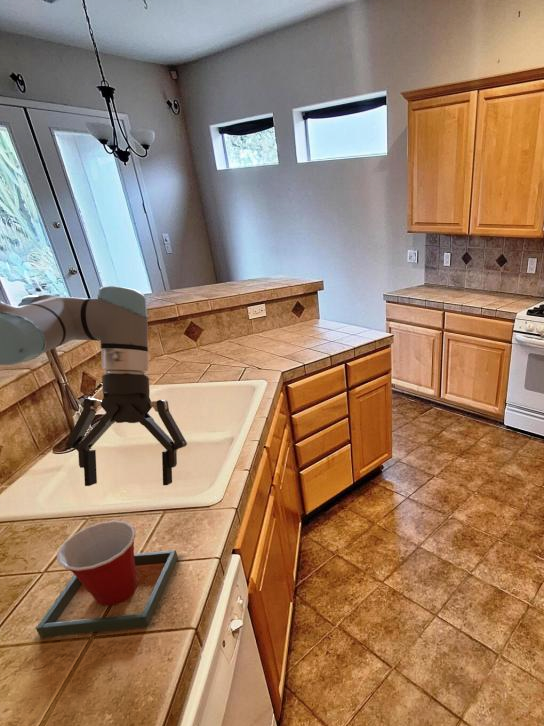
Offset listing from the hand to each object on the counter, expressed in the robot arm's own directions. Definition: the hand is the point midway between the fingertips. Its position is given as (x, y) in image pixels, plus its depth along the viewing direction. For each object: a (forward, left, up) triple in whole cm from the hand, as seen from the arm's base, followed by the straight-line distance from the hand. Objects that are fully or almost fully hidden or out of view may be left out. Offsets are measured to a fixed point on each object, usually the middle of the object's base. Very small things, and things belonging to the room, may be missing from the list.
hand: (129, 484), depth 83 cm
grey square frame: (+1, -16, -13) cm, 21 cm away
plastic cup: (+1, -16, -13) cm, 21 cm away
